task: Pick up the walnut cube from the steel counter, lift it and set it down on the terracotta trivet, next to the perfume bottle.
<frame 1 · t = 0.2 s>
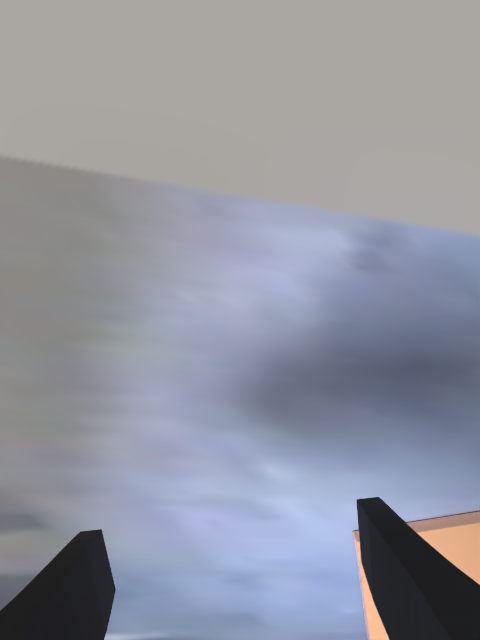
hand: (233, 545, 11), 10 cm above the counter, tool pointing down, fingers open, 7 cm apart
trivet: (447, 590, 24), on the counter
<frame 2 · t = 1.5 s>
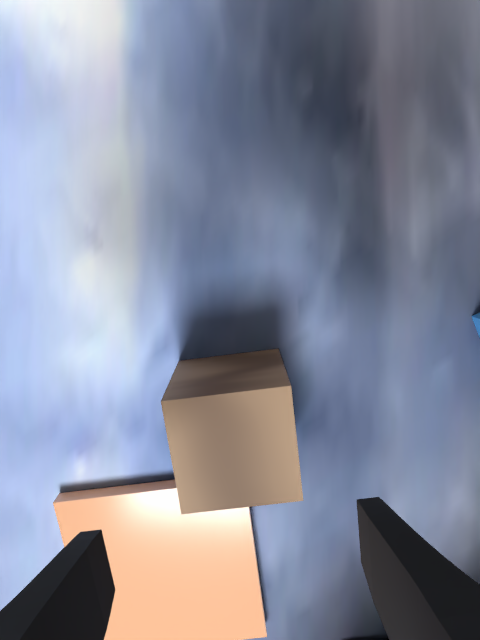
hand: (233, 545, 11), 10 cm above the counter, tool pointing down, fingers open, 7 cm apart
cube: (235, 400, 21), on the counter
trivet: (167, 561, 23), on the counter
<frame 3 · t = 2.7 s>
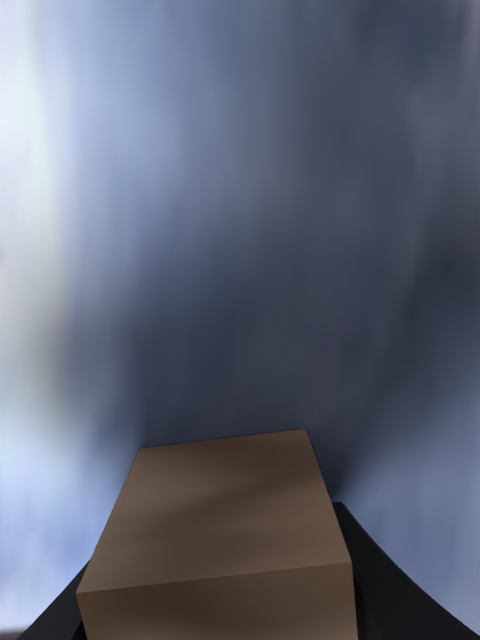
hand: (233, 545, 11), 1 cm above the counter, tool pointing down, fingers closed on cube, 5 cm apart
cube: (233, 511, 13), on the counter, touching gripper
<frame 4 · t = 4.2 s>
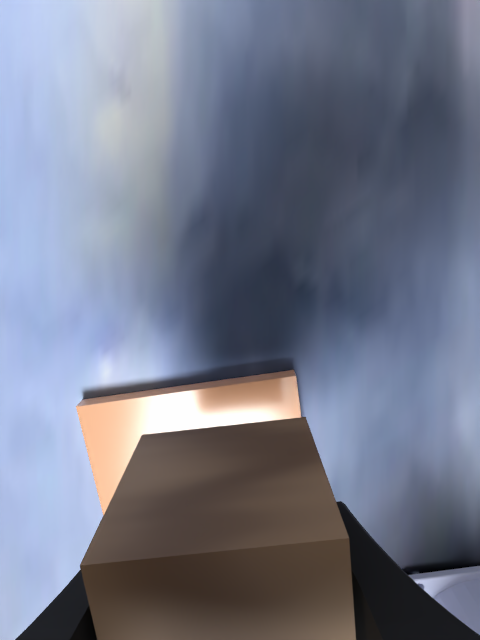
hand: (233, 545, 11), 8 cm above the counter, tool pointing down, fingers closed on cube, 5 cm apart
cube: (233, 498, 13), point 7 cm above the counter, touching gripper
trivet: (204, 478, 20), on the counter
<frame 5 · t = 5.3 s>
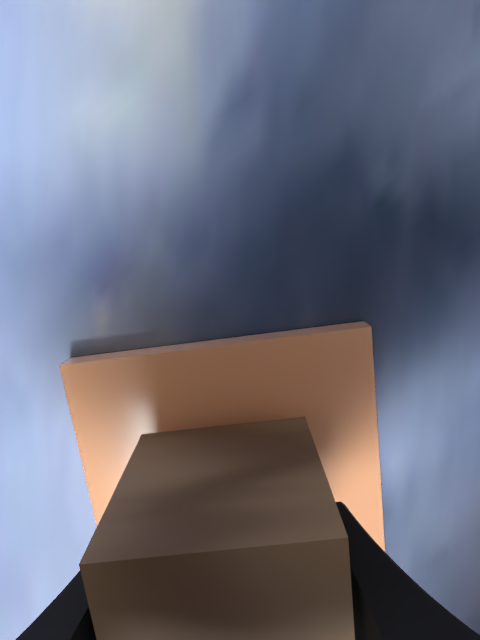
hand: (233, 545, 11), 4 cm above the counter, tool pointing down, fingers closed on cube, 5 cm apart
cube: (232, 497, 13), point 2 cm above the counter, touching gripper
trivet: (234, 471, 15), on the counter
when the fingers open (3 cm above the counter, at t = 6.0 s): cube stays where it is, resting on trivet.
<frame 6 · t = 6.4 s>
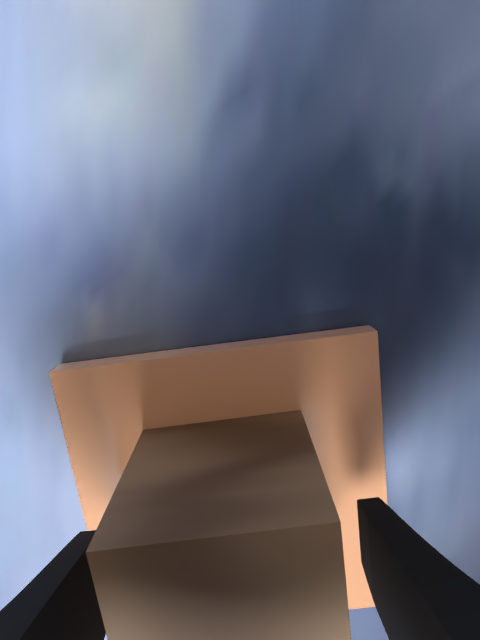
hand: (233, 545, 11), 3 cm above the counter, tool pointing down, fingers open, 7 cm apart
cube: (232, 489, 13), point 1 cm above the counter, touching trivet
trivet: (233, 482, 14), on the counter
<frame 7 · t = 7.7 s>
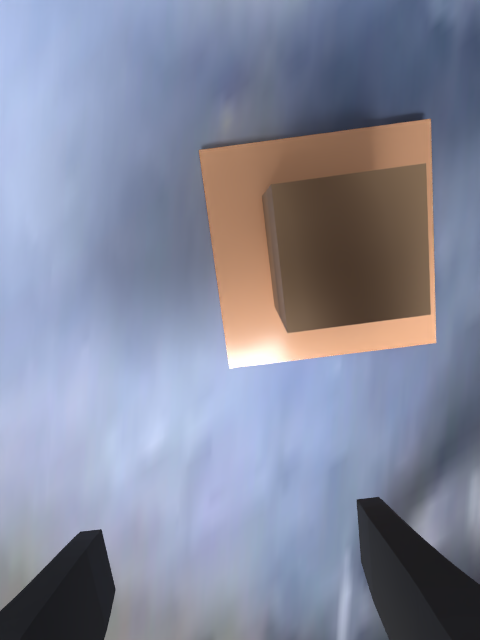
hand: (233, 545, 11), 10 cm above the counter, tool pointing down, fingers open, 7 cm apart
cube: (323, 245, 19), point 1 cm above the counter, touching trivet
trivet: (320, 250, 19), on the counter
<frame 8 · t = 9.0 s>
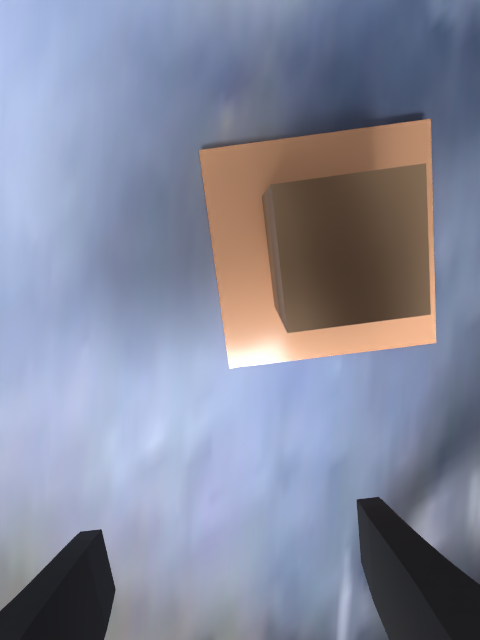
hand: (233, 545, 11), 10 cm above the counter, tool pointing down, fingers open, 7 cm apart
cube: (323, 245, 19), point 1 cm above the counter, touching trivet
trivet: (320, 250, 19), on the counter
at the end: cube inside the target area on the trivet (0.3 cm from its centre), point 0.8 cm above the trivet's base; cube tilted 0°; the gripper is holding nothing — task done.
